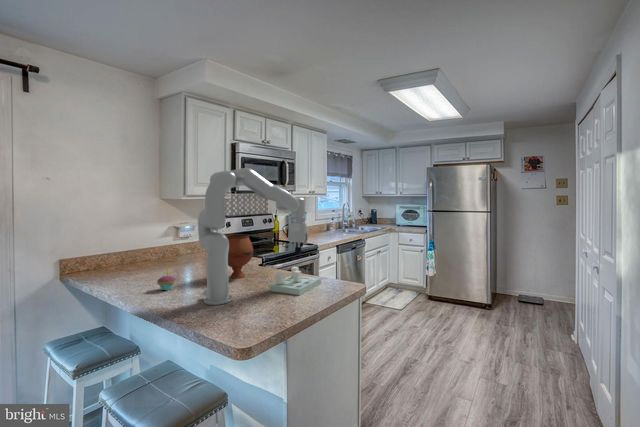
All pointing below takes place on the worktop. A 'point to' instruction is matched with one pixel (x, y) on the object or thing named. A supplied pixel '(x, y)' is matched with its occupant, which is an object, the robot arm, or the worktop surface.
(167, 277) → the cupcake
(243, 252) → the goblet
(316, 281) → the switch box
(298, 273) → the switch
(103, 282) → the worktop surface
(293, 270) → the switch
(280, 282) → the switch
